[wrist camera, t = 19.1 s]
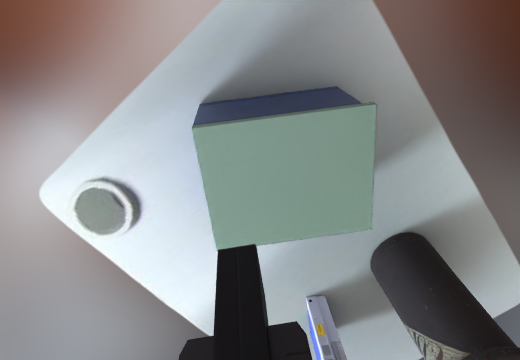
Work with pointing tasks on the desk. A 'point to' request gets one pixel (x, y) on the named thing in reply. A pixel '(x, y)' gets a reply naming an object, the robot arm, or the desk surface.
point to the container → (437, 303)
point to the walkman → (323, 330)
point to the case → (272, 105)
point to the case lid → (288, 174)
